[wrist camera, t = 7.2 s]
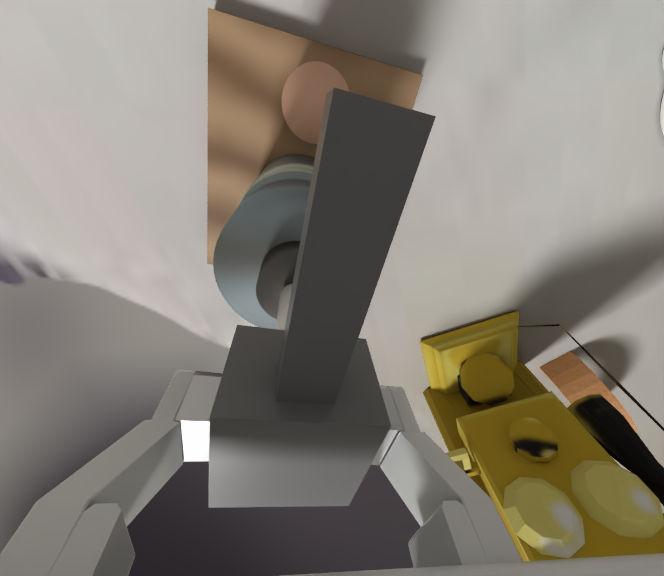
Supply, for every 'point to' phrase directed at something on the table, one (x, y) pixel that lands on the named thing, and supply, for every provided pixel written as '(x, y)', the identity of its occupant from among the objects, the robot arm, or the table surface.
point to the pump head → (320, 326)
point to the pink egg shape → (309, 97)
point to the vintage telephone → (543, 449)
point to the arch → (579, 381)
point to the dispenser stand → (267, 154)
